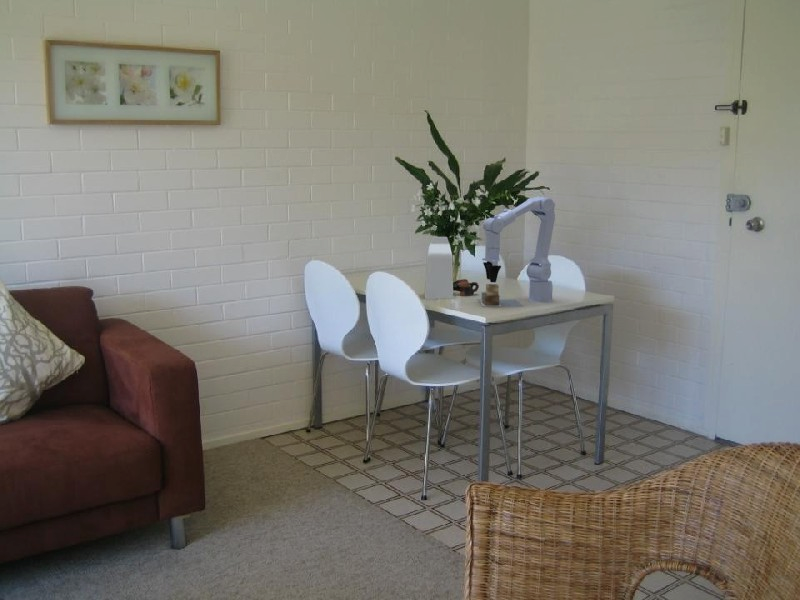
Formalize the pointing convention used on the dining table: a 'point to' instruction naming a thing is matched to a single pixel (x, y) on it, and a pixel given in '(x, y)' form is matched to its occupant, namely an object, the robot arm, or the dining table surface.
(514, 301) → the blueprint mat
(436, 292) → the milk
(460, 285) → the pottery mug
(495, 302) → the walnut base
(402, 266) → the dining table surface
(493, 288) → the oak block
